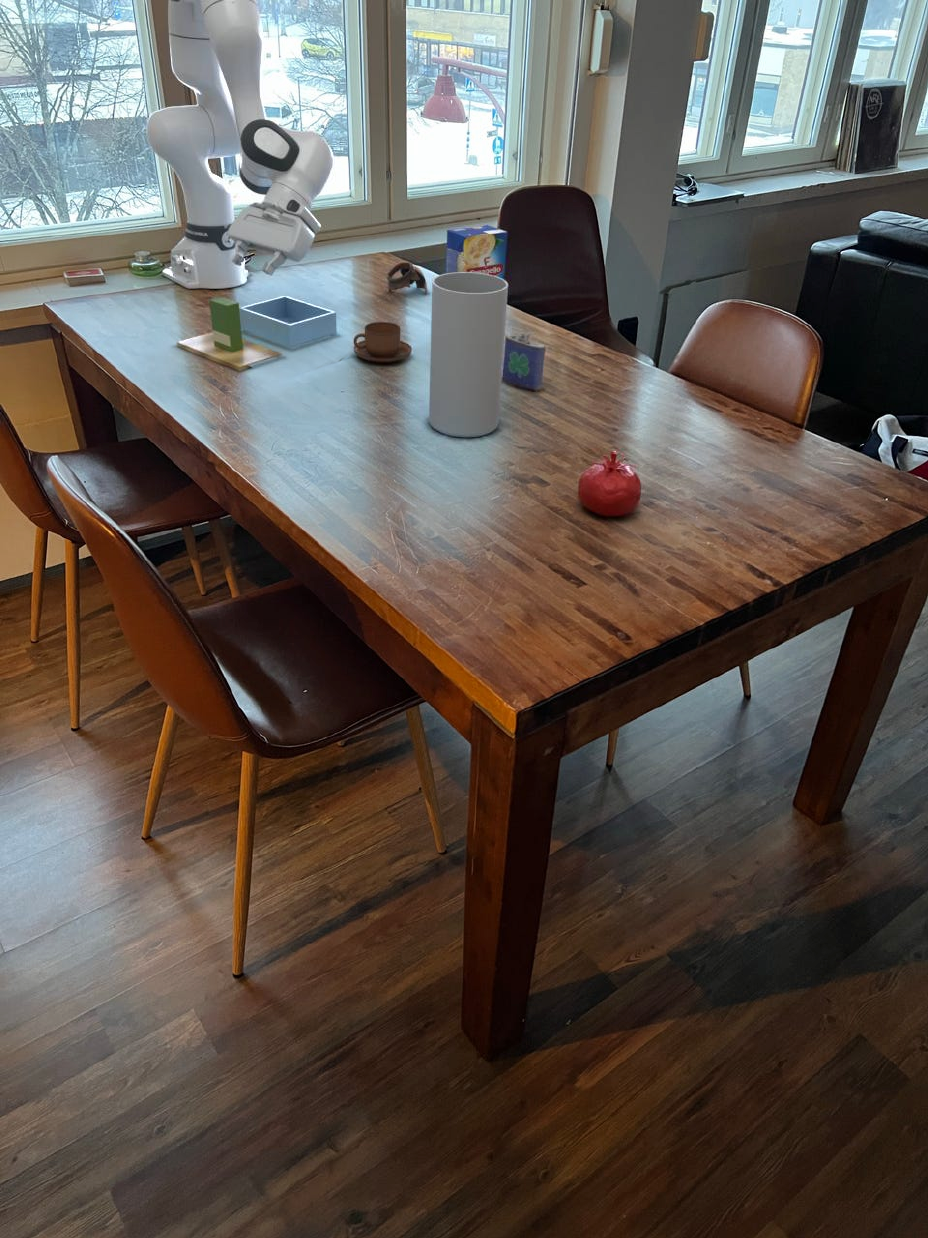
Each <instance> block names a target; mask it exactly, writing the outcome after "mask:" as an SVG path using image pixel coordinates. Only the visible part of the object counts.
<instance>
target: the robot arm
mask: <svg viewBox="0 0 928 1238" xmlns="http://www.w3.org/2000/svg"><path fill="white" fill-rule="evenodd" d="M167 6H168V7H167V10H168V11H167V19H168V21H167V22H168V25H167V26H168V36H169V49H170V62H171V69H172V72H173V75H174V76H175V77H176V78H177V80H178V81H179V82H180V83H181V84H183V85H185V86H186V87H188V88H190V89H192V91H194V94H195V98H196V104H194V105H178V106H169V107H164V108H161V109H159V110H156V111H154V112H151V113H150V115H149V117H148V119H147V122H146V128H145V132H146V133H145V134H146V139H147V143H148V144H149V146H150V148H151V149H152V151H153V152H154V154H155V155H156V156H158V158H160V159H161V160H163V161H164V162H165V163H166V164H167V165H169V167H170V168H171V169H172V170H173V172H174V173H175V175H176V177H177V178H178V180H179V182H180V185H181V188H182V192H183V198H184V203H185V210H186V217H187V221H184V222H181V224H182V226H181V228H182V229H183V228H185V230H184V237H183V238H182V239H181V240H180V241H179V242H178V243H177V244H176V245H175V246H174V247H173V248H172V249H171V251H170V267H167V268H165V269H163V270H162V271H161V272H162V273H161V274H162V276H164V277H166V278H167V279H169V280H171V281H173V282H175V283H176V284H178V285H180V286H182V287H184V288H186V289H189V290H191V289H209V290H211V289H212V290H214V289H216V290H217V289H218V290H220V289H231V288H235V287H239V286H243V285H244V284H246V283H247V281H248V279H247V277H249V271H248V270H247V269H246V267H245V263H246V259H245V258H244V253H245V252H247V251H248V249H252V250H255V251H258V252H263V253H264V254H269V255H272V256H274V257H273V258H271V260H269V261H267V262H266V261H265V263H264V265H263V266H262V269H261V271H262V272H263V273H264V274H265V275H268V276H273V275H274V273H275V271H276V270H277V269H279V267H281V266H282V265H283V264H285V263H286V261H287V260H289V261H292V262H296V263H299V262H300V261H302V260H303V259H304V258H305V257H306V255H307V254H308V252H309V250H310V248H311V247H312V245H313V243H314V241H315V235H316V234H318V233H319V232H320V230H321V228H322V226H321V223H320V222H319V221H318V220H317V219H316V217H315V216H314V215H313V214H312V213H311V210H312V207H313V203H314V201H315V199H316V197H318V196H319V195H320V194H321V192H322V190H323V189H324V187H325V185H326V183H327V181H328V180H329V177H330V175H331V172H332V170H333V166H334V162H335V161H334V160H335V158H334V153H333V150H332V148H331V147H330V145H329V143H328V142H327V140H326V139H325V138H324V137H322V136H321V135H320V133H319V134H318V133H317V132H315V131H313V130H310V129H307V130H295V129H291V128H289V127H284V126H282V125H279V124H277V123H276V122H275V121H272V120H270V119H267V114H266V111H265V110H266V109H265V106H264V101H263V95H262V71H263V62H264V61H263V60H264V31H263V23H262V18H261V13H260V9H259V5H258V1H257V0H168V2H167ZM238 155H239V160H238V174H239V177H240V180H241V182H242V183H243V184H244V186H245V187H246V188H247V189H248V190H249V191H251V192H253V193H255V194H258V195H263V196H264V197H263V199H262V201H261V202H260V203H259V202H252V204H248V205H246V207H244V208H243V209H241V211H240V212H238V215H237V216H236V217H235V211H234V209H235V208H234V200H233V199H234V197H233V191H232V188H231V186H230V185H229V183H228V182H227V181H226V180H225V179H224V178H222V177H220V176H218V175H216V174H214V173H212V171H211V169H210V166H209V159H217V158H219V159H221V158H229V157H234V156H238Z"/></svg>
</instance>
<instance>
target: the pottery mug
mask: <svg viewBox="0 0 928 1238" xmlns="http://www.w3.org/2000/svg"><path fill="white" fill-rule="evenodd" d="M398 272H400V274H401V276H400V277H397V278H393V277H394V275H395V274H396V273H398ZM386 279H387V290H388V292H389V293H391V292H392V291H398V290H400V289H401V290H402V289H403V288H409V289H410V288H411V285H413V284H414V283H415V286H416V289H422V290H424V293H425V295H428V294H429V290H428V283H427V280H426V277H425V275H424V272H422V270H421V269H420V268H419V267H417V266H415V265H414V264H413V263H412V262H411V261H402V262H399V263H397V264H395V265H394V266H393V267H392V268H391V269H389V270H388V272H387V277H386Z"/></svg>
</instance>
